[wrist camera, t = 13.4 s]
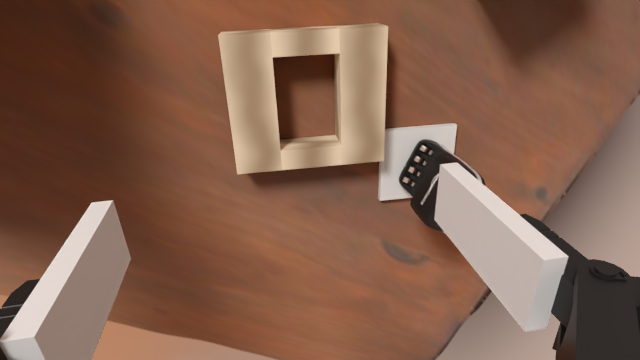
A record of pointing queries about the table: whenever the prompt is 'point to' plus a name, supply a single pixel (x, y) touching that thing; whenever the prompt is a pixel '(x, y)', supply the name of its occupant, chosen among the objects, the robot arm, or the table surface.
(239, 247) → the table surface
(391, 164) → the white square tile
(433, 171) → the battery charger
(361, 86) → the holder block
